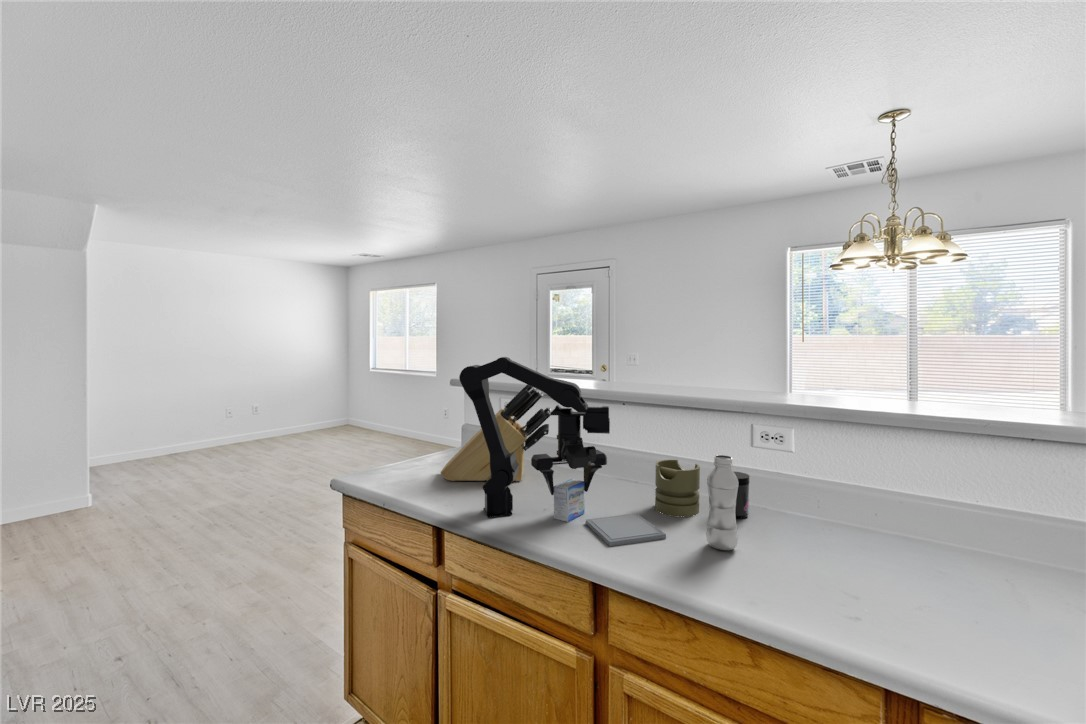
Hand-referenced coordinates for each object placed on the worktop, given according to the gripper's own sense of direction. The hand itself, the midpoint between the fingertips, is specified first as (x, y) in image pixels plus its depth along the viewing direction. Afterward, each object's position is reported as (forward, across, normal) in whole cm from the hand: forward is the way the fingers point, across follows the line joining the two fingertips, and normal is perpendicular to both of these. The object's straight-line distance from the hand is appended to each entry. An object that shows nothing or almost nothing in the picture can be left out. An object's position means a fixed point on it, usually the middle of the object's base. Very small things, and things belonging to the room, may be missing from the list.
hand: (569, 493), depth 128 cm
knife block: (+6, -10, +40) cm, 42 cm away
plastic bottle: (+6, +25, -28) cm, 38 cm away
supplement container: (+6, +41, -12) cm, 43 cm away
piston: (+6, +29, -4) cm, 30 cm away
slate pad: (+6, +9, -13) cm, 17 cm away
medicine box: (+6, 0, 0) cm, 6 cm away
